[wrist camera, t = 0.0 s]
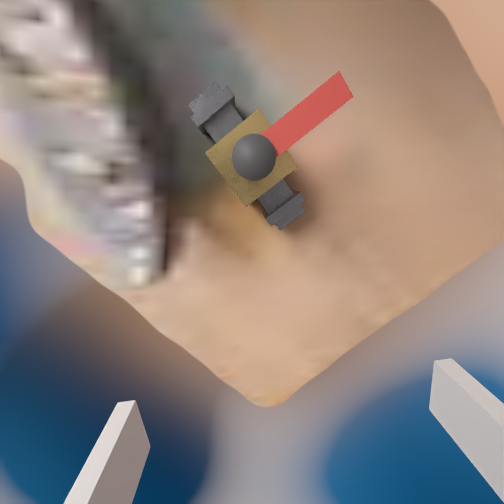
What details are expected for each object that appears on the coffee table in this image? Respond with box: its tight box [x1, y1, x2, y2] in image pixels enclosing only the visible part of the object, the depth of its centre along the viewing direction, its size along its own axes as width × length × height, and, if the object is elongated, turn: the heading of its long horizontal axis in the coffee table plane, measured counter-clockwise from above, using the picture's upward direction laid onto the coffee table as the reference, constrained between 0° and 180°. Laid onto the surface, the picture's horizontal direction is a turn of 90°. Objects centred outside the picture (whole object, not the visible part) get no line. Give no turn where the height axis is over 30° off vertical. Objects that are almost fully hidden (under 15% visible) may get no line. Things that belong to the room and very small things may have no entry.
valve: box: [188, 81, 306, 230], centre depth 30 cm, size 18×7×10 cm, turn 37°
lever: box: [232, 71, 353, 181], centre depth 24 cm, size 12×4×2 cm, turn 127°
